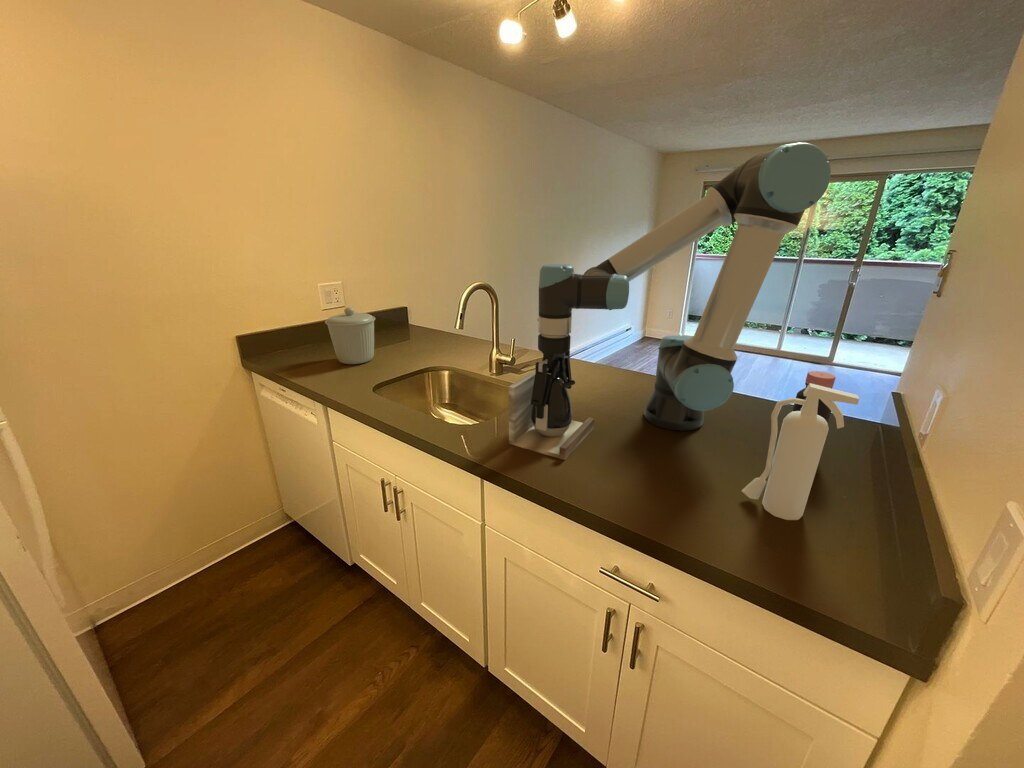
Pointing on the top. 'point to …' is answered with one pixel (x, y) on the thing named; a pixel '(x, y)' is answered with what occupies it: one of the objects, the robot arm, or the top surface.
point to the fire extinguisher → (796, 452)
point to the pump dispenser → (556, 408)
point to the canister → (352, 336)
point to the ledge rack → (525, 432)
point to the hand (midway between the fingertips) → (551, 420)
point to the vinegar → (821, 380)
